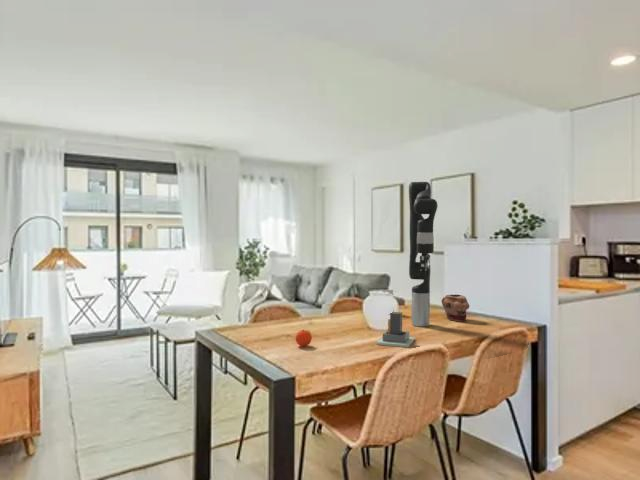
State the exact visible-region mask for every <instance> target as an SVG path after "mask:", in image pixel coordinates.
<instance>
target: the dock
mask: <svg viewBox="0 0 640 480" xmlns="http://www.w3.org/2000/svg"><path fill="white" fill-rule="evenodd" d="M415 340H416V337H415V336H410V331H403V330H402V335H392V334H388V329H387V330H386V331H384V332H383V333H382V337H380V338H379V339H378V340H377V341H376V342H375V343H376V344H375V345H376V346H387V347H397V348H398V347H399V348H409V347H411V345H412V344H413V342H414V341H415Z"/></svg>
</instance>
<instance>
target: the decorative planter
mask: <svg viewBox="0 0 640 480" xmlns="http://www.w3.org/2000/svg"><path fill="white" fill-rule="evenodd" d="M441 305H442V308H443V310H444V312H445V315H446V319H448V320H449V321H456V322H460V321H461V322H463V321H466V319H467V310H469V308H470V304H469V302H468V300H467V297H466V296H465V295H462V294H446V295H445V296H443V297H442V298H441Z"/></svg>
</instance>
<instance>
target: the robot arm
mask: <svg viewBox="0 0 640 480" xmlns="http://www.w3.org/2000/svg"><path fill="white" fill-rule="evenodd" d="M431 197H432V188H431V184H430V182H428V181H411V182H410V183H409V185H408V201H409V204H408V205H409V267H408V275H409V278H410V279H411V280H419V281H420V280H422V281H423V282H422V283H420V284H417V285H413V286H412V287H411V325H412V326H415V327H429V326H430V316H431V315H430V314H431V313H430V309H431V308H430V307H431V306H430V304H431V303H430V301H431V299H430V296H431V295H430V293H431V290H430V288H431V287H430V285H431V283H430V282H431V254H433V253H434V251H435V250H434V248H435V247H434V246H435V245H434V242H435V239H434V222H435V217H436V214H437V210H438V202H437V200H436V199H435V198H431ZM423 215H428V216H427V218H424V216H423ZM418 254H421V255H420V256H419V261H417V256H418Z"/></svg>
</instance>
